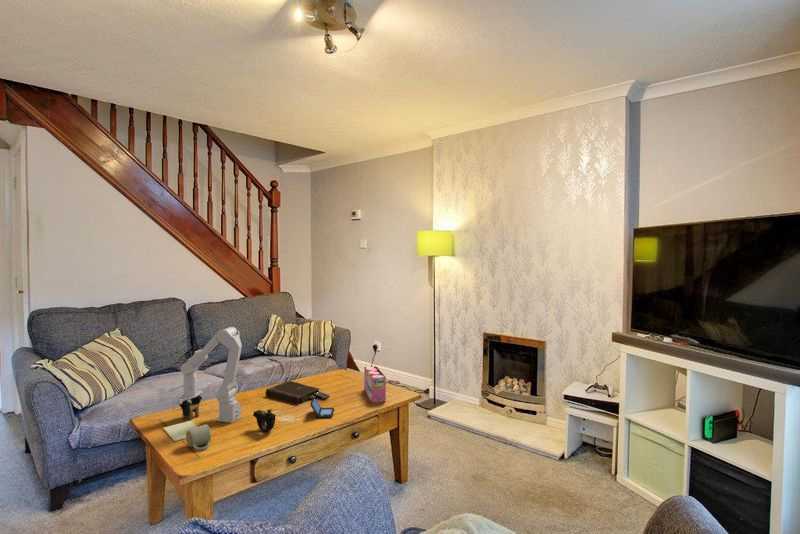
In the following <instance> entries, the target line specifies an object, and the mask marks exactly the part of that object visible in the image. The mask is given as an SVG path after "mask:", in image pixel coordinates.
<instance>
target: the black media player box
mask: <svg viewBox="0 0 800 534" xmlns="http://www.w3.org/2000/svg"><path fill="white" fill-rule="evenodd" d="M320 390H321V388H319V387H314V386H309V385H306V384H304V383H303V384H302V383H301V382H298V381H297V382H296V381H293V380H292V381H291V380H287V381H284V382H282V383H279V384H276V385H274V386H271V387H270V388H266V391H265V396H266V397H267V396H268V398H270V397H272V398H271V399H274V398H275V400H278V399H279V400H278V401H283V402H285V403H286V402H287V403H289V404H293V403H294V405H297V404H299V405H300V404H301V403H300V402H302V403H304V402H303V401H305V402H307V401H309V400H308V399H309V398H310V397H311V396H312V395H313V394H314V393H317V392H319V391H320ZM306 400H307V401H306Z"/></svg>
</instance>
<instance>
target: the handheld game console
mask: <svg viewBox="0 0 800 534" xmlns="http://www.w3.org/2000/svg"><path fill="white" fill-rule="evenodd" d="M310 406H311V408H312V411H314V413H315V415H316V418H323V419H332V418H333V416H334V413H335V408H334V407H322V406H321V405H320V404H319V402H318V400H317V399H316V398H315V397H313V398H312V399H311V402H310ZM333 412H334V413H333ZM331 417H332V418H331Z"/></svg>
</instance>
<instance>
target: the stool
mask: <svg viewBox="0 0 800 534" xmlns="http://www.w3.org/2000/svg"><path fill="white" fill-rule="evenodd" d="M199 406H200V403H199V404H193V403H192V402H191V404H190V407H189V416H184V414H183V411H182V410H181V411H182V419H183V420H187V417H188V421H193V419H194V417H195V418H199V415H200V410H199ZM194 409H195V412H193V410H194ZM193 414H194V415H193Z"/></svg>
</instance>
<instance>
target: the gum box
mask: <svg viewBox="0 0 800 534" xmlns="http://www.w3.org/2000/svg"><path fill="white" fill-rule="evenodd" d="M363 372H364V376H363V377H364V378H363V379H364V381H363V383H364V384H363V385H364V386H363V389H364V392H365V393H367V394H366V396H367V397H368V399H369V398H370V399H369V401H370V402H371V403H372V402H374V403H384V402H383V401H385V402H386V401H387V399H386V395H387V393H386V392H387V391H386V389H387V388H386V386H387V382H386V381H387V379H386V376H385V374H384V372H382V371H381V370H380V368H378V366H376V365H375V366H373V367H367V366H364V371H363Z"/></svg>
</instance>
